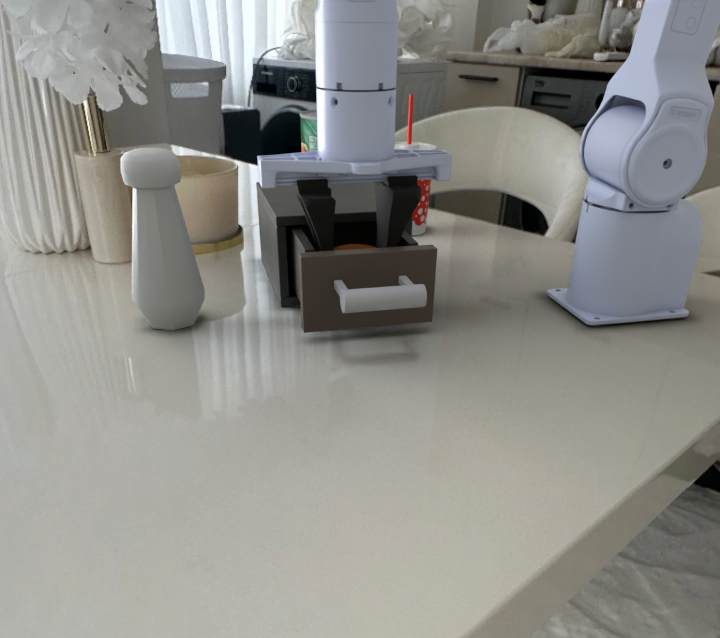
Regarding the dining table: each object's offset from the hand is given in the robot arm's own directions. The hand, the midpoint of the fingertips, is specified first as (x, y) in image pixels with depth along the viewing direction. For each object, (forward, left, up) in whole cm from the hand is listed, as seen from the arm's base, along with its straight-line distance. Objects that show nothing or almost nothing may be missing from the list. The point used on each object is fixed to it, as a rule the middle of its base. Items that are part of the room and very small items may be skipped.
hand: (355, 276), depth 58 cm
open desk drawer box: (0, -10, -3) cm, 11 cm away
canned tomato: (-6, -37, -4) cm, 38 cm away
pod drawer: (0, +1, -2) cm, 3 cm away
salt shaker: (+15, -2, -4) cm, 16 cm away
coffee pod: (0, 0, -1) cm, 1 cm away
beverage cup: (-12, -25, -4) cm, 28 cm away
